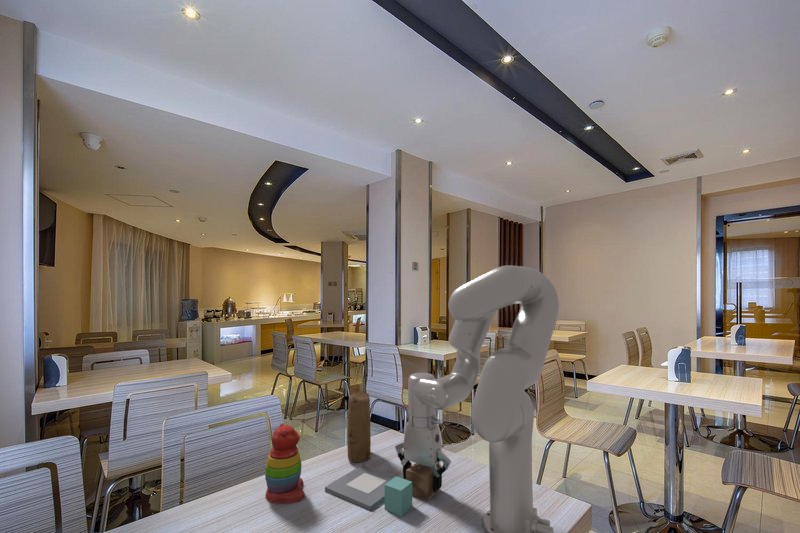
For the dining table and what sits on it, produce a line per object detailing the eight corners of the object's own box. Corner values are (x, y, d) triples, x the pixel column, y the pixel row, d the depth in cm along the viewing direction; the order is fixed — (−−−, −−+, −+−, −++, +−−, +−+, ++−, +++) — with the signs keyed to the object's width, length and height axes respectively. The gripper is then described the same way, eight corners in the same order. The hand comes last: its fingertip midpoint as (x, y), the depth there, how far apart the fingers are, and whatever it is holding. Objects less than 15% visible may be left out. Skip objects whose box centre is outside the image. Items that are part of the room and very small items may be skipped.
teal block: (412, 506, 94) (412, 481, 94) (401, 516, 90) (401, 490, 90) (396, 500, 97) (396, 476, 97) (384, 509, 93) (384, 484, 93)
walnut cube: (439, 489, 102) (438, 467, 102) (426, 500, 96) (426, 477, 97) (418, 482, 105) (418, 460, 106) (406, 493, 100) (405, 470, 101)
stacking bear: (305, 501, 96) (306, 430, 97) (263, 508, 93) (264, 435, 94) (302, 480, 107) (303, 417, 108) (265, 486, 104) (266, 421, 105)
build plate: (406, 482, 105) (406, 478, 105) (370, 510, 92) (370, 506, 92) (363, 467, 114) (363, 463, 114) (324, 490, 101) (324, 486, 101)
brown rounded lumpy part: (370, 463, 117) (370, 398, 118) (346, 464, 116) (346, 399, 117) (370, 448, 128) (370, 389, 129) (348, 449, 127) (348, 390, 128)
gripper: (456, 422, 100) (456, 488, 99) (403, 409, 110) (403, 469, 109) (443, 431, 94) (443, 501, 93) (388, 417, 104) (388, 480, 103)
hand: (421, 484), depth 101 cm, fingers open, 9 cm apart
